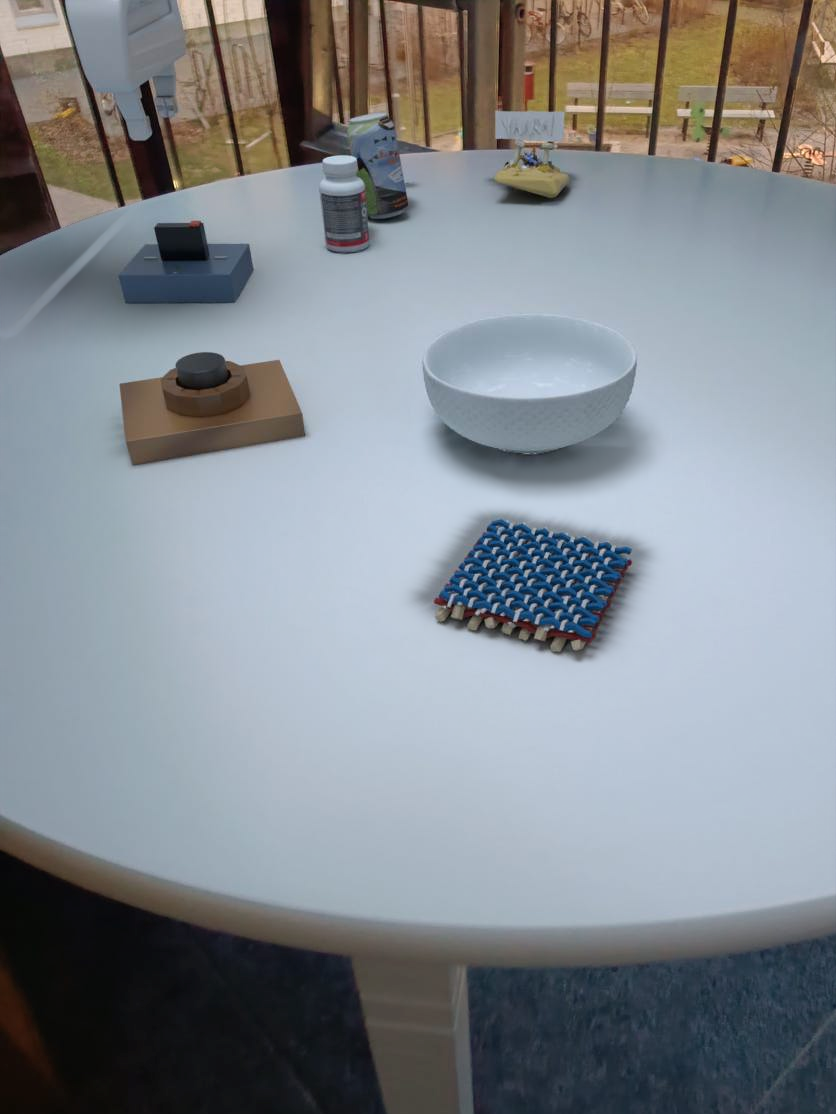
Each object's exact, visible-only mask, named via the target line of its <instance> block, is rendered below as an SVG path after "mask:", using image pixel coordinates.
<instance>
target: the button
mask: <svg viewBox="0 0 836 1114" xmlns="http://www.w3.org/2000/svg"><path fill="white" fill-rule="evenodd" d="M225 361H226V358H225V357H224V356H223V355H222V354H220V353H217V352H212V351H202V352H201V351H200V352H193V353H189V354H187V355H185V356H182V357H180V358H179V359H177V360H176V362H175V368H176V370H177V375H178V379H179V383H180V386H181V387H182V388H184V389H189V390H204V389H211V388H216V387H218V386H220V385H223V384H225V383H227V382H228V380H229V377H228V372H227V367H226V362H225Z"/></svg>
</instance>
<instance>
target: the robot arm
mask: <svg viewBox="0 0 836 1114" xmlns="http://www.w3.org/2000/svg"><path fill="white" fill-rule="evenodd" d="M178 4H179V3H178V0H64V5H65V11H66V16H67V19H68V24H69V27H70V31H71V35H72V37H73V41H74V44H75V47H76V51H77V54H78V57H79V60H80V64H81V67H82V70H83V72H84V75H85V77H86V79H87V81H88V83H89V85H90V87H91V88H92V89H93V91H94V92H95V93H97V94H113V98H114V103H115V104H116V106H117V108H118V110H119V111H120V113H121V115H122V117H123V119H124V120H125V123H126V127H127V132H128V136H129V138H130V139H131V140H132V141H147V140H148V139H149V138H150V137H151V136H152V134H153V129H152V127H151V120H150V116H149V115H146V113H145V110H144V107H143V103H142V100H141V99H142V98H143V95H142V91H141V85H143V84H144V83H146V82H148V81H149V80H150V79H152V78H153V80H154V90H155V97H154V103H155V106H156V112H157V115H158V116H159V117H160V118H163V119H164V118H174V117H175V116H176V115H178V114H179V111H180V109H179V106H178V105H179V104H178V99H177V95H176V94H177V72H176V67H175V62H177V61H179V60H180V59H181V58H183V57H184V56H185V55H186V53H187V42H186V35H185V29H184V25H183V21H182V16H181V12H180V8H179V5H178Z"/></svg>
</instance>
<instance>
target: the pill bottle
mask: <svg viewBox="0 0 836 1114" xmlns="http://www.w3.org/2000/svg"><path fill="white" fill-rule="evenodd" d="M357 170H358V165H357V159H356V158H355V157H353V156H351V155H345V154H344V155H343V154H341V155H332V156H328V157H325V158H323V159H322V172H323V175H325V177H324V178H323V179H322V180H321V181H320V183H319V185H318V188H319V189H318V191H319V198H320V199H319V200H320V208H321V216H322V225H323V235H324V243H325V246H326V247H325V248H327V249H328V250H329V251H331V252H332V251H333V252H336V253H348V254H349V253H355V252H360V251H363V250H365V249H366V248H368V247H369V246H370V232H369V220H368V218H369V217H368V215H367V206H366V193H365V185H364V182H363V181H362V179H360V178H359V177H356V173H357V172H358V171H357Z"/></svg>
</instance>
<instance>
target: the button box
mask: <svg viewBox="0 0 836 1114" xmlns="http://www.w3.org/2000/svg"><path fill="white" fill-rule="evenodd" d="M225 362H226V367H227V372H228V377H229V380H228V382H227V383H225V384H223V385H220V386H218V387H216V388H211V389H204V390H189V389H184V388H182V387H181V386H180V383H179V379H178V375H177V370H176V367H174V368H172V369H170V370H168V371H167V373H165V374H164V375H163V376H160V377H154V378H148V379H141V380H140V379H139V380H135V381H134V380H133V381H129V382H128V381H127V382H121V383H119V384H118V385H119V394H120V402H121V411H122V420H123V430H124V438H125V444H126V449H127V452H128V456H129V458H130V462H131V464H132V466H138V465H144V464H150V463H156V462H161V461H167V460H173V459H178V458H185V457H191V456H196V455H201V454H202V455H203V454H208V453H214V452H219V451H221V452H222V451H226V450H233V449H237V448H238V449H239V448H244V447H249V446H254V445H255V446H256V445H261V444H262V445H263V444H266V443H268V444H269V443H274V442H278V441H285V440H290V439H297V438H301V437H306V429H305V423H304V416H303V412H302V408H301V406H300V404H299V402H298V400H297V397H296V395H295V392H294V390H293V388H292V385H291V383H290V381H289V379H288V377H287V374H286V371H285V370H284V368H283V365H282V363H281V360H280V359H273V360H269V361H268V360H267V361H262V362H261V361H260V362H254V363H249V364H241V365H240V364H238V363H236V362H233V361H231V360H225Z"/></svg>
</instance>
